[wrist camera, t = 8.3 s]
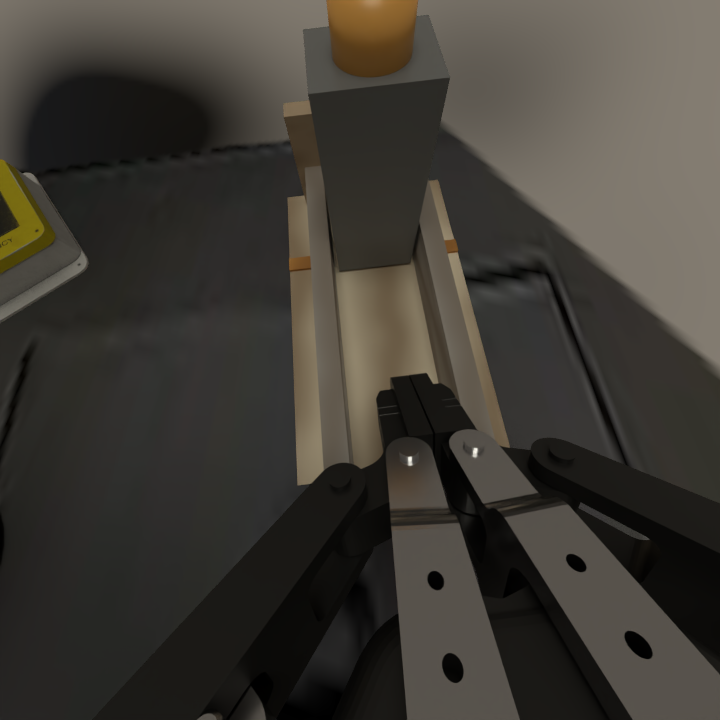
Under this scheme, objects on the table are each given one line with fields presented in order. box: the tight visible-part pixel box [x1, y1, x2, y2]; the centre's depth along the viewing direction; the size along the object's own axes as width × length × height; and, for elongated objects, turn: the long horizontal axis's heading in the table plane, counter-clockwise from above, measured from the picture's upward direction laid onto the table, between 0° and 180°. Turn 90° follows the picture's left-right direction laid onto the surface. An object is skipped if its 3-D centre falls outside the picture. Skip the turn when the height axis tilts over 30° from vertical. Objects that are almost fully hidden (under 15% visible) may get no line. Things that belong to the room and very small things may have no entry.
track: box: [283, 100, 510, 485], centre depth 16 cm, size 12×21×8 cm, turn 6°
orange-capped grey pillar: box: [303, 0, 450, 271], centre depth 14 cm, size 5×4×12 cm
